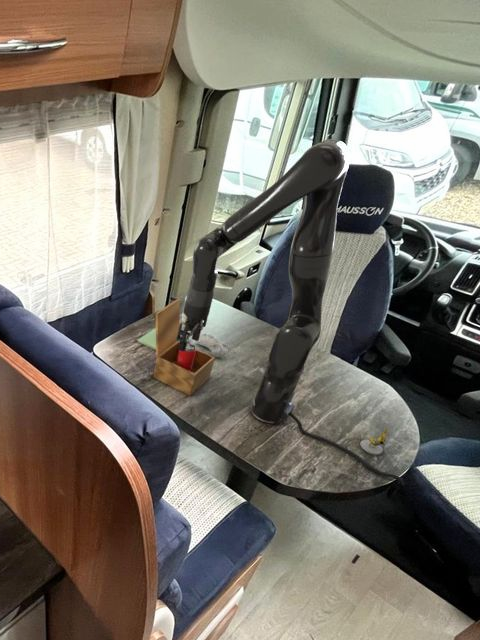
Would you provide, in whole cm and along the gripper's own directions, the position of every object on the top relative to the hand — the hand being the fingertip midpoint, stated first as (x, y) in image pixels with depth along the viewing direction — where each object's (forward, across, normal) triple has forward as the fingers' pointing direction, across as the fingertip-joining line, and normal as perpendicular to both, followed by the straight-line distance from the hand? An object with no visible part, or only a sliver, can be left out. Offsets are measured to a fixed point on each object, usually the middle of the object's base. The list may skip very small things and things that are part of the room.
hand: (188, 344), depth 143 cm
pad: (+14, +15, +17) cm, 26 cm away
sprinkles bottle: (+14, +30, +16) cm, 37 cm away
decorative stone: (+14, +22, +1) cm, 26 cm away
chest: (+13, 0, 0) cm, 13 cm away
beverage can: (+13, 0, 0) cm, 13 cm away
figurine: (+13, +9, -57) cm, 59 cm away
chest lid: (-3, 0, +8) cm, 9 cm away
